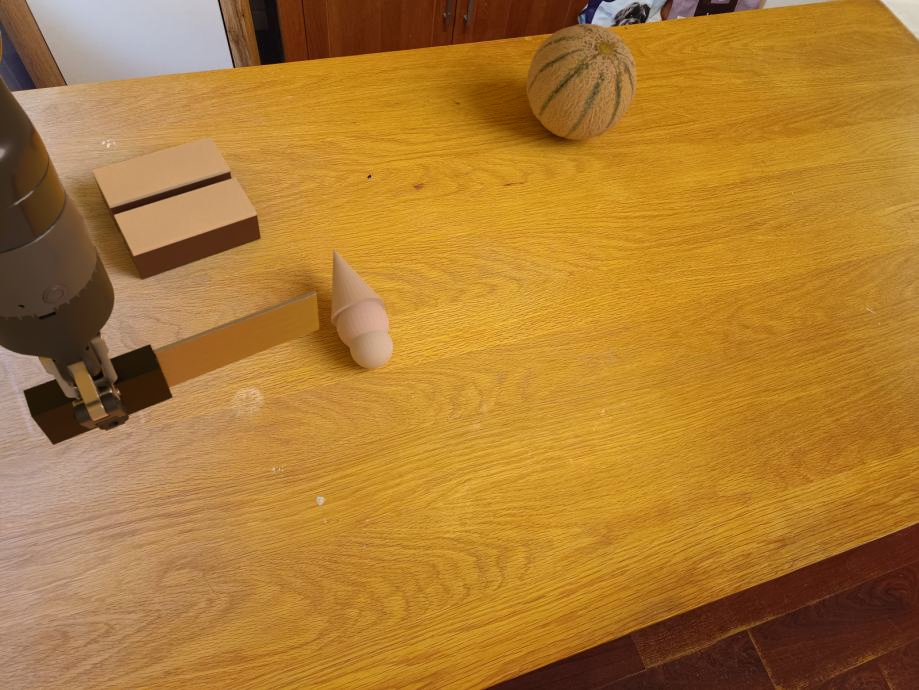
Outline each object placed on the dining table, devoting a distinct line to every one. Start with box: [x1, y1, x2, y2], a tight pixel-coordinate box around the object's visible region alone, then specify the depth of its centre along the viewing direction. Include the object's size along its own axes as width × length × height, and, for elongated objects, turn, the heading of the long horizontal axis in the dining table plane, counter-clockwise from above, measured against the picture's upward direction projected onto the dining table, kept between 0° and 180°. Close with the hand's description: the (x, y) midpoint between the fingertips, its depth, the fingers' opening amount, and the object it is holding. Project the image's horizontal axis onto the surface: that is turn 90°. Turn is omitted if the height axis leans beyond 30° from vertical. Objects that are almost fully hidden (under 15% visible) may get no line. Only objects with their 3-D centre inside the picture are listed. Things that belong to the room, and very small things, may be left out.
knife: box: [22, 290, 320, 446], centre depth 58 cm, size 22×2×5 cm, turn 121°
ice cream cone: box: [330, 248, 394, 370], centre depth 80 cm, size 6×6×15 cm
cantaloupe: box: [525, 23, 638, 142], centre depth 100 cm, size 15×15×15 cm
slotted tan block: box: [91, 136, 261, 280], centre depth 86 cm, size 14×14×4 cm
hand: (108, 406), depth 57 cm, fingers closed on knife, 2 cm apart
